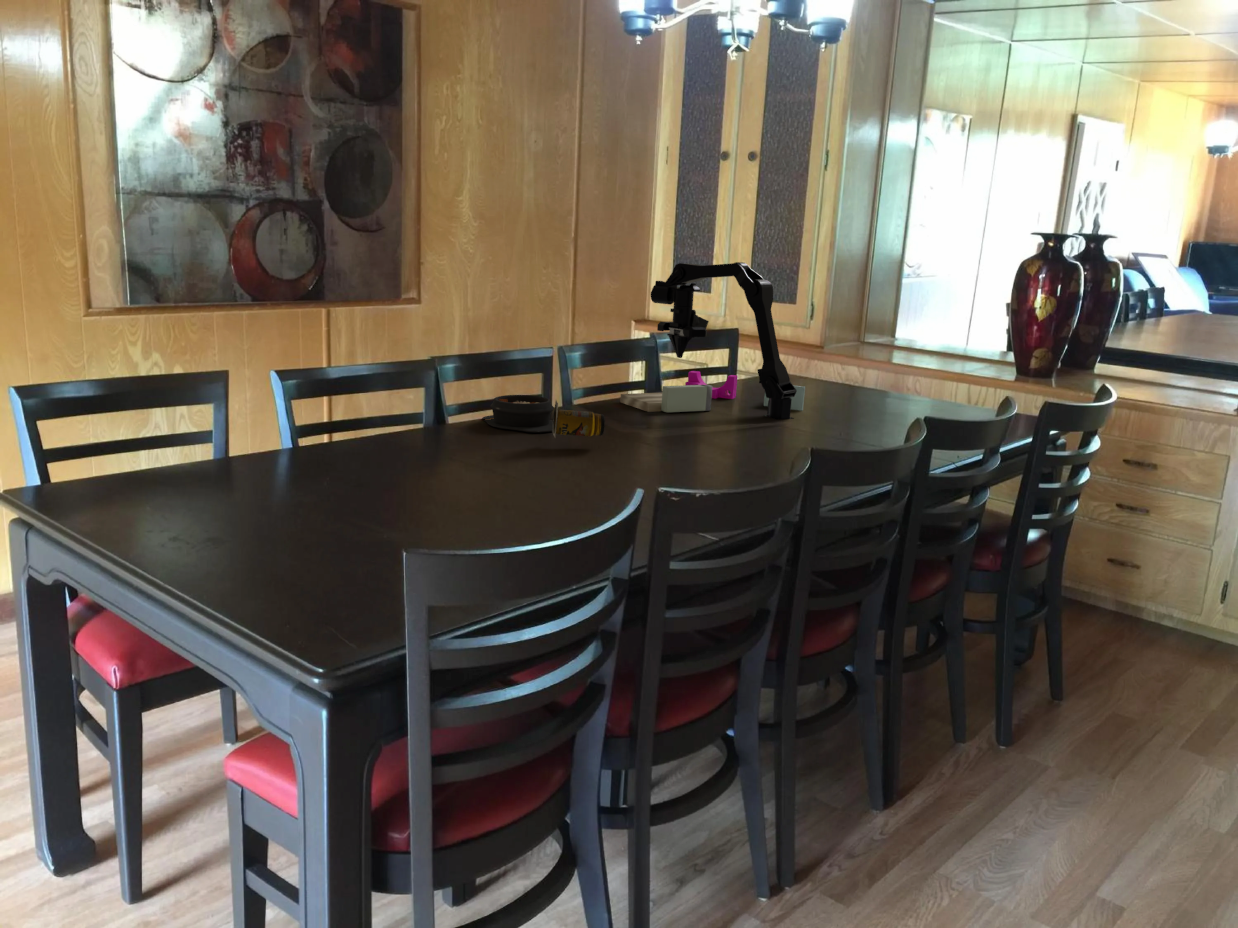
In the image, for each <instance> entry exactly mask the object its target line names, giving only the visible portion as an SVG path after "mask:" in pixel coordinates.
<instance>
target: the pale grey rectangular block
mask: <svg viewBox="0 0 1238 928" xmlns="http://www.w3.org/2000/svg"><path fill="white" fill-rule="evenodd" d="M712 387H713V385H711V384H707V385H685V384H683V385H663V386H662V391H661V393H662V405H661V411H660V412H664V413H680V412H682V413H683V412H704V411H707V412H708V411H711V410H712V409H711V408H712V400H713V398H712Z"/></svg>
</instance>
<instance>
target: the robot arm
mask: <svg viewBox="0 0 1238 928" xmlns="http://www.w3.org/2000/svg"><path fill="white" fill-rule="evenodd" d="M725 277H734V278H735V280H736V282H737V283H738V286H739V287H740V288H741V289H742V290H743V292H744V296H745V298H746V301H747V303H748V305H749V307H750V308H751V310H752V311H753V314H754V318H755V324H756V328H757V334H758V339H759V341H758V342H759V346H760V352H761V356H762V366H761V368H758V369H757V375H758V379H759V380H758V384H761V387H762V389H763V390H764V395H765V394H766V397H767V398H769V401H768V406H767V410H766V412H767V413H766V414H763V415H762V416H763V417H766V418H769V419H773V420H777V421H779V420H780V421H781V420H794V419H795V417H791V411H792V409H791V401H792V399H791V398H790V397H794V396H795V394H796V392H797V390H796V389H795V387H794V386H795V385H794V384H793V383H792V382H791V379H790V376H789V373H788V369H787V367H786V366H785V364H784V363H783V361H782V359H781V357H780V351H779V346H778V342H777V336H776V330H775V326H774V320H773V314H772V305H773V302H774V288H773V287H774V286H773V284H772V282H770V281H769V280H768V279H764V278H763V276H761V275H760V274H759V273H758V272H756V271H755V270H754V269H752V268H751V267H750V265H749V264H747V263H746V262H742V261H739V262H738V261H737V262H733V263H732V262H731V263H721V264H719V263H718V264H708V265H707V264H705V265H703V264H699V263H698V264H697V263H684V262H680V263H676V264H675V266H674V267H673V270H672V272H671V274H670V275H669V277H667V279H666V281H663V280H656V281H655V283H654V285H653V286H652V288H651V291H650V300H651V301H652V302H653V303H654V304H663V305H673V308H670V313H672V321H659V322H658V323H657V332H664V331H667V332H668V331H669V333H667V334H666V335H667V336H668V338H669V340H670V343H671V344H672V347H673V350H674V353H675V354H676V357H677V358H678V359H682V357H683V356H684V353H685V350H686V348H687V346H688V343H689V342H690V341H691V340H692V339H694V338H706V337H707V327H708V324H709V322H710V321H709V320H707V319H705V318H703V317H700V316H699V315H698V314H697V312H696V310H695V309H693V307H694V306H693V305H694V292H701V288H700V287H698V285H697V284H696V282H699V281H702V280H705V279H712V278H725ZM687 284H689V285H687Z"/></svg>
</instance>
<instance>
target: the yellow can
mask: <svg viewBox="0 0 1238 928" xmlns="http://www.w3.org/2000/svg"><path fill="white" fill-rule="evenodd" d="M553 411H554V412H553V420H552V421H553V431H552V434H553V437H554V438H556V435H561V436H575V437H576V436H577V437H578V436H579V437H592V436H600V437H601V436H603V435H604V432H605V427H606V426H605V419H606V418H605V415H604V414H602V413H594V412H593V411H584V410H572V409H571V410H569V409H568V410H567V409H559V402H558V400H555V404H554V409H553Z"/></svg>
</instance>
